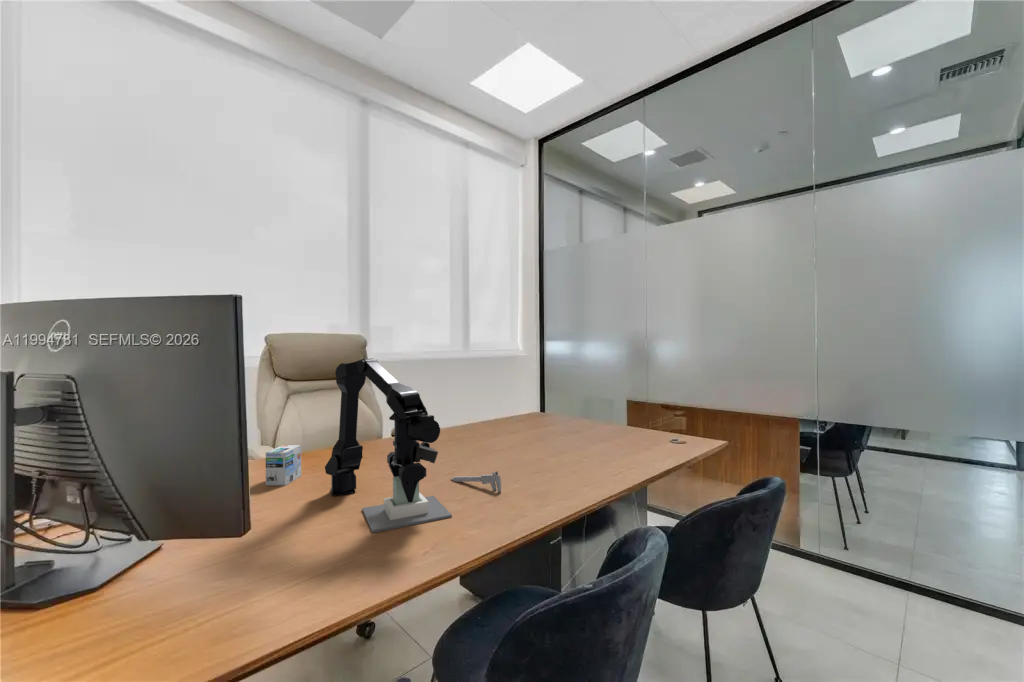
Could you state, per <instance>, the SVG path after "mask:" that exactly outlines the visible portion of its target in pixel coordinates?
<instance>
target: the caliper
mask: <svg viewBox="0 0 1024 682" xmlns="http://www.w3.org/2000/svg"><path fill="white" fill-rule="evenodd" d="M491 473H492V474H481V475H479V476H478V475H477V476H476V475H475V476H470V475H469V476H463V475H462V476H453V477H452V478H450V481H453V482H458V483H459V482H464V483H465V482H466V483H467V482H471V483H472V482H475V483H476V482H478V483H479V482H480V483H481V484H482V485H487V484H489V485H490V486H491V488H492V491H493V492H498V493H499V492H501V491H502V480H501V475H500V474H499V472H498V471H495V470H493V471H492V472H491Z"/></svg>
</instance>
